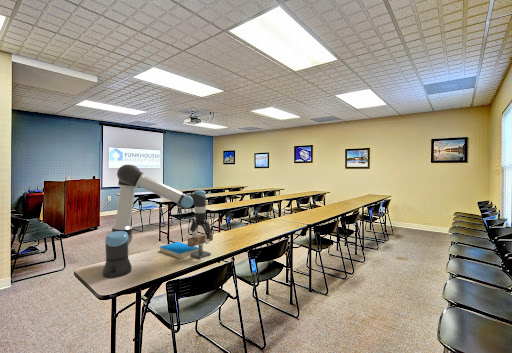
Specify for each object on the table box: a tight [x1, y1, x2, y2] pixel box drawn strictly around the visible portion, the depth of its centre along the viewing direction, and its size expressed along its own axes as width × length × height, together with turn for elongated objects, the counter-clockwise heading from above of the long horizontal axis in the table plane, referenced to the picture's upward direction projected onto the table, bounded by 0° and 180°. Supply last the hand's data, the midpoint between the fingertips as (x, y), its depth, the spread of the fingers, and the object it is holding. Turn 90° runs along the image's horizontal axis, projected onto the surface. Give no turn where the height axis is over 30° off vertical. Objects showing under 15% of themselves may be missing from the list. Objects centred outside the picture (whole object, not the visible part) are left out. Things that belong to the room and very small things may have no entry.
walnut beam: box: [187, 232, 214, 247], centre depth 178 cm, size 20×4×5 cm, turn 144°
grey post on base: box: [190, 243, 212, 260], centre depth 178 cm, size 10×10×9 cm
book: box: [159, 241, 199, 259], centre depth 187 cm, size 17×4×25 cm
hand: (200, 242), depth 178 cm, fingers open, 13 cm apart
